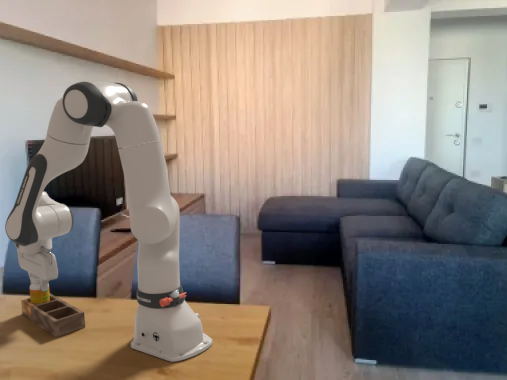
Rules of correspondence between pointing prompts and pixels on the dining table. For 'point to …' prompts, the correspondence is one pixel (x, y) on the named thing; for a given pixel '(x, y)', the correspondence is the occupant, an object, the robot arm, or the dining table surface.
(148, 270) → the robot arm
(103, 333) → the dining table surface
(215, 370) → the dining table surface
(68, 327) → the box
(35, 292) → the supplement bottle
